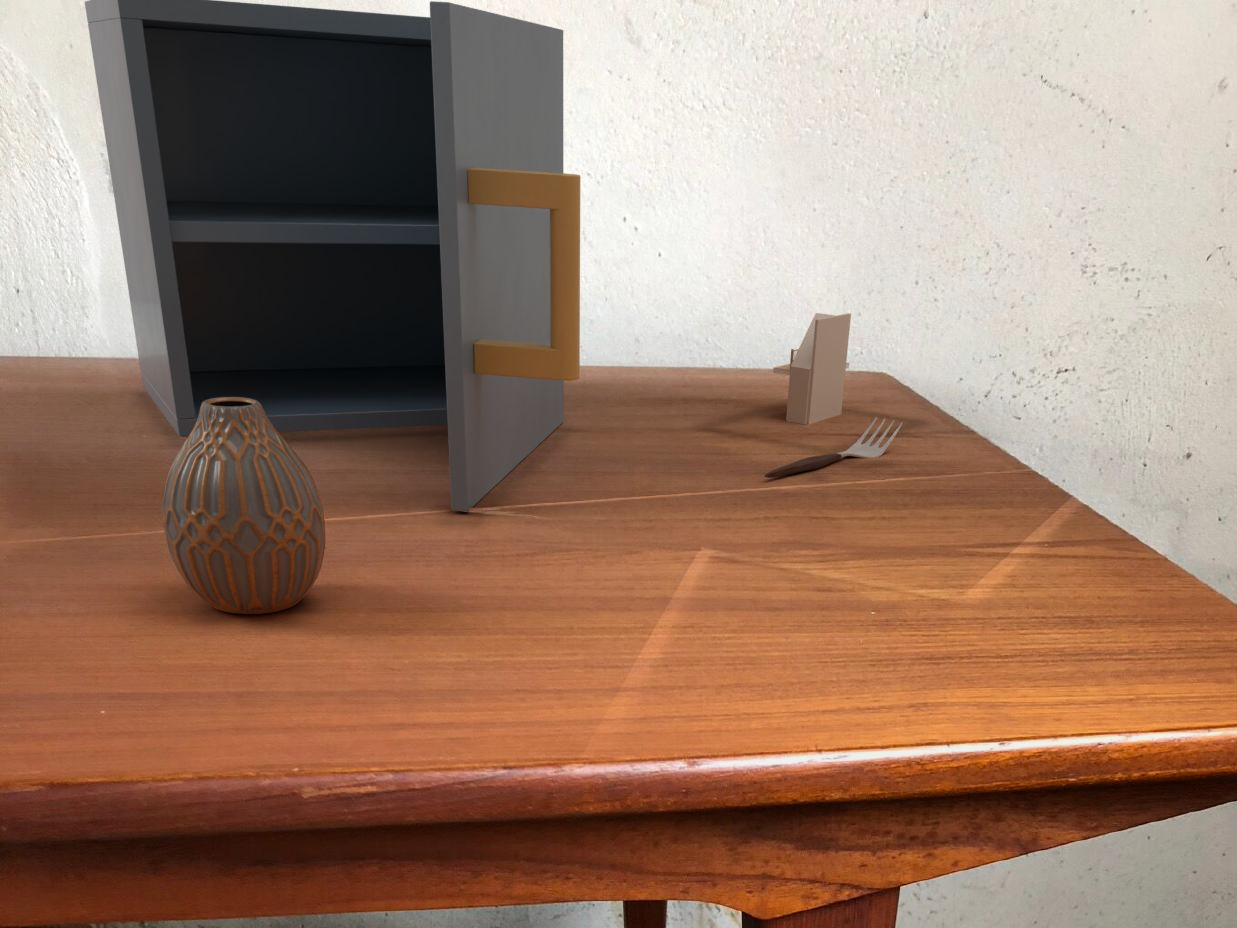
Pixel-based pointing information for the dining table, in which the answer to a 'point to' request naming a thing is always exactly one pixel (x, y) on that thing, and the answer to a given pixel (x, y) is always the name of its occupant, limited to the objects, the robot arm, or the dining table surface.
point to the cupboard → (277, 208)
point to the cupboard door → (503, 240)
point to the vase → (243, 512)
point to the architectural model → (818, 370)
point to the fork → (854, 450)
